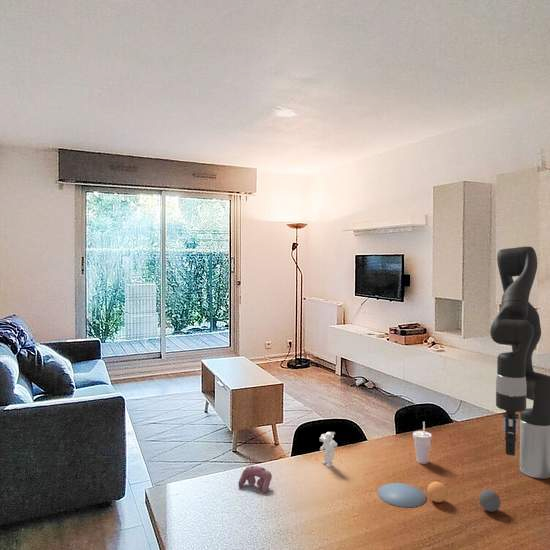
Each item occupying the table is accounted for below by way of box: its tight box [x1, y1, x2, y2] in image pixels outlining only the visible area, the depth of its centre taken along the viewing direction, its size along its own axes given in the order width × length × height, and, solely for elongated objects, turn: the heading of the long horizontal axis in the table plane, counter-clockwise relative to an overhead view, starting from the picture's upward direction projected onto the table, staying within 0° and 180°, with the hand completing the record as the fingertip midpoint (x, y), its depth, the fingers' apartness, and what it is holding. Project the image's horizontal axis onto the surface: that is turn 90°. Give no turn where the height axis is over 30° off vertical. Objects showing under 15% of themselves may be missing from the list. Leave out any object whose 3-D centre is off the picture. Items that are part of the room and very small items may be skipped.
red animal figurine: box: [237, 465, 273, 494], centre depth 144 cm, size 10×5×7 cm, turn 65°
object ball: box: [426, 481, 448, 503], centre depth 134 cm, size 6×6×6 cm
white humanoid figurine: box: [319, 431, 338, 468], centre depth 159 cm, size 9×4×12 cm, turn 24°
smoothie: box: [412, 421, 433, 465], centre depth 161 cm, size 6×6×14 cm
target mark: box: [377, 482, 427, 508], centre depth 138 cm, size 14×14×1 cm
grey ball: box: [478, 489, 502, 512], centre depth 129 cm, size 6×6×6 cm
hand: (510, 448), depth 128 cm, fingers open, 8 cm apart
